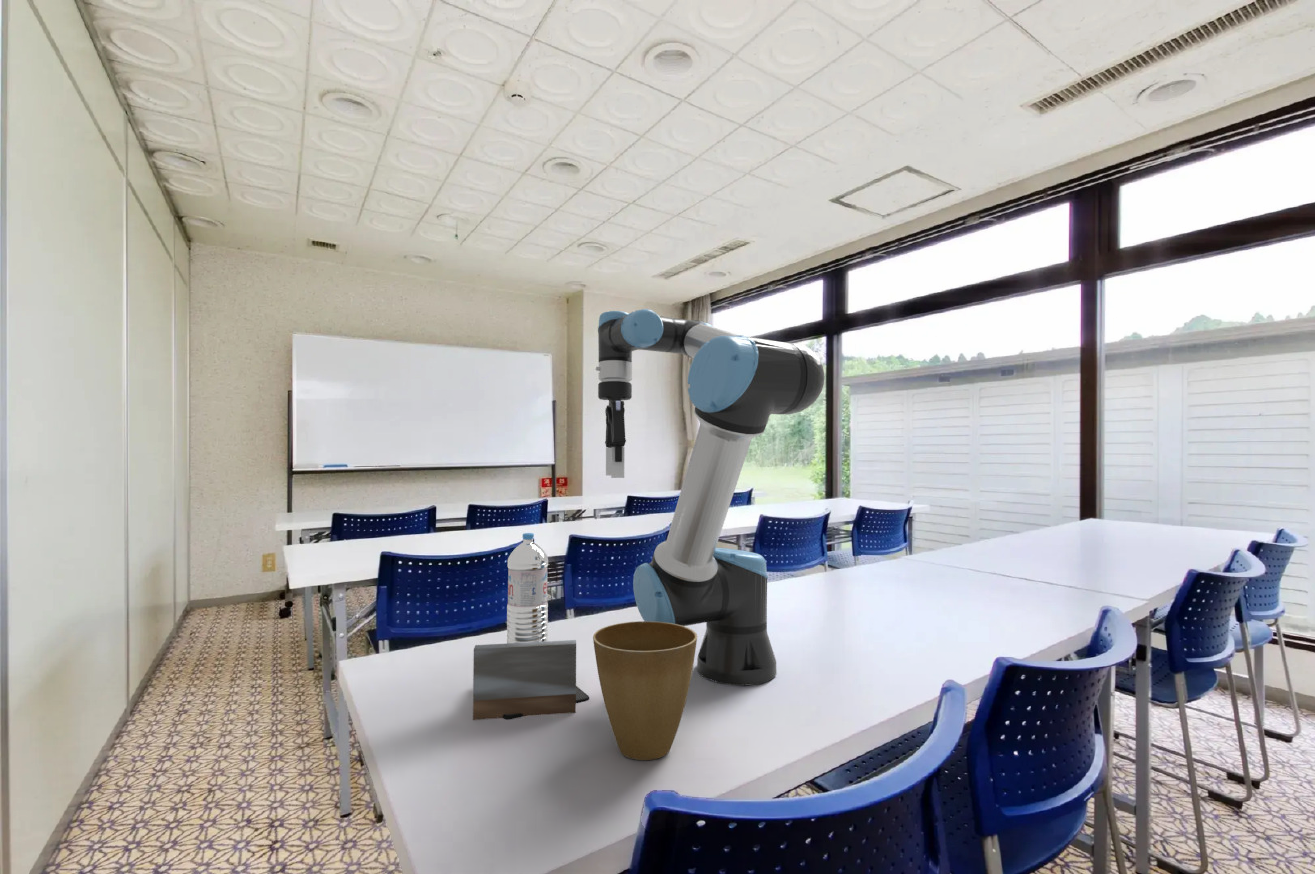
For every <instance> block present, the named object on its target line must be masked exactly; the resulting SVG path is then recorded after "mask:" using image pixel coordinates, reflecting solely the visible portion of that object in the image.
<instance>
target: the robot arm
mask: <svg viewBox="0 0 1315 874" xmlns="http://www.w3.org/2000/svg"><path fill="white" fill-rule="evenodd" d="M597 333H598V335H597V336H598V366H596V367H595V371H596V372H598V380H599V381H600V382H599V383H598V385H597V394H598V395H597V397H598V399H599V400H601V401H602V400H603V401H608V405H606V408H605V442H604V444H605V476H610V478H611V479H618V478H619V479H624V478H625V445H626V443H627V439H626V428H625V427H626V425H625V423H626V422H625V401H630V400H631V399H632V397H633V396H632V395H633V394H632V393H633V391H632V389H633V388H632V387H633V384H632V383H631V381H632V380H633V361H632V360H633V359H632V357H633V352H635V351H639V350H641V351H648V352H649V351H651V352H659V353H660V352H662V353H671V354H677V355H678V354H679V355H683V356H686V357H688V358H691V359H692V362H691V364H690V367H689V371H688V376H687V384H688V385H689V387H688V388H687V392H688V396H689V399H690V401H691V403H692V404H693V406H694V414H695V417H696V419H698V421H699V423H700V424H699V427H698V430H697V435H696V438H695V441H694V445H693V448H692V451H691V455H690V458H689V462H688V466H687V468H686V473H685V476H684V479H683V482H682V485H681V488H680V492H679V497H678V500H677V504H676V507H675V510H674V514H673V518H672V520H671V524H670V527H669V528H670V529H669V532H668V534H667V538H666V540H664V541H662V542H660V543H659V544H657V546H656V547H655V550H654V552H653V556H652V559H651V562H649V563H648V562H644V563H642V564H640V565H638V566H637V567H636V568H635V571H634V574H633V580H632V581H633V583H632V585H633V587H632V589H633V594H634V600H635V604H636V607H637V610H638V612H639V614H640V617H641V619H642V621H654V622H666V623H673V624H677V625H681V626H685V627H687V626H693V625H699V624H704V623H705V624H706V626H705V627H706V629H705V633H704V635H703V639H702V640H701V641H702V642H701V645H700V649H699V651H698V654H697V659H696V660H697V661H696V665H697V667H696V669H697V671H698V674H699V675H700V676H702V677H704V678H705V679H707V680H710V681H712V682H716V683H720V684H724V685H731V686H733V685H734V686H753V685H759V684H764V683H767V682H770V681H771V680H773V679H774V678H775V677H776V675H777V659H776V656H775V653H774V650H773V646H772V644H771V640H770V637H769V635H768V625H767V624H768V616H767V615H768V612H767V611H768V610H767V609H768V608H767V607H768V578H769V577H768V573H767V561H766V558H764V556H763V555H761V554H759V553H757V552H752V551H747V550H742V549H741V550H740V549H733V548H723V547H717V545H718V541H719V538H720V537H721V532H722V530H723V526H724V524H725V520H726V518H727V514H728V511H729V510H730V509H729V508H730V505H731V503H732V499H733V497H734V493H735V490H736V488H737V484H738V481H739V479H740V475H741V471H742V469H743V466H744V463H745V460H746V458H747V454H748V451H749V447H750V445H751V441H752V440H753V439H754V438H756V437H759V436H760V435H763V434H764V432H765V430H766V427H767V424H768V421H769V419H770V416H771V415H793V414H797V413H800V412H802V411H804V410H806V409H808V408H809V407H810V406H812V405H813V404H815V402H816V401H817V399H819V397H820V395H821V393H822V391H823V389H824V385H825V377H826V376H825V371H824V369H825V368H824V367H823V363H822V362H821V359H820V358H819V356H818V355H816V353H815V352H814V351H812V350H811V349H810V348H808V347H807V346H805V345H802V344H799V343H794V342H786V341H778V340H771V339H764V338H758V337H751V336H745V335H739V334H737V333H732V332H729V331H726V330H723V329H719V328H716V327H714V326H713V325H712V324H710V323H707V322H704V321H700V320H694V319H693V320H690V319H685V318H684V319H683V318H682V319H681V318H674V317H668V316H662V315H659V314H658V313H656V312H655V311H654V310H651V309H648V308H645V309H644V308H643V309H638V310H635V311H631V312H629V313H628V312H626V311H624V310H623V311H622V310H609V311H605V312H602V313H601V314H600V315H599V319H598V326H597Z"/></svg>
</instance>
